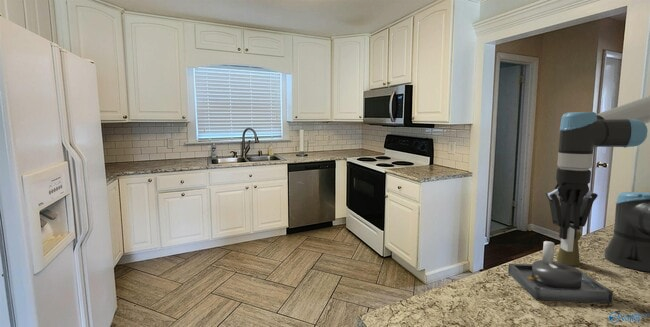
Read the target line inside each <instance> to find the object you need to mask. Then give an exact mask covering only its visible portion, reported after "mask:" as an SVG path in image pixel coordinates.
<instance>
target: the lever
mask: <svg viewBox="0 0 650 327" xmlns="http://www.w3.org/2000/svg"><path fill="white" fill-rule="evenodd" d="M542 246H543V247H542V258H541V259H542V260H535V261H533V263H532V264H533V266H532V276H533V277H534V278H535V279H536V280H537V281H539V282H541V283H543V284H546V285H549V286H552V287H556V288H571V289H578V288H580V287H581V281H582V273H581V272H580V271H581V270H580V269H579V268H577V267H575V266H574V267H575V268H574V267H572V266H570V265H567V264H563V263H560V262H558V261H554V258H555V247H556V246H555V242H553V241H548V240H545V241H543V245H542ZM576 268H577V269H576ZM578 269H579V270H580V271H579V270H578Z"/></svg>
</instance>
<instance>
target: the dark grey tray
mask: <svg viewBox="0 0 650 327" xmlns="http://www.w3.org/2000/svg"><path fill="white" fill-rule="evenodd" d="M532 266H533V263H531V264H530V263H508V268H507V271H508V273H507V274H509V275H510V276H511V277H512V278H513V279H514V280H515V281H516V282H517V283H518V284H519V285H520V286H521V287H522V288H523V289H524V290H525V291H526V292H527V293H528V294H529V295H530V296H531V297H532V298H533V299H534V300H535V301H547V302H548V301H551V302H552V301H553V302H572V303H573V302H575V303H576V302H577V303H578V302H579V303H598V304H601V303H602V304H612V303H613V295H614V294H613V291H612V290H611V289H610V288H608V287H606V286H605V285H604V284H601V283H600V282H598V281H597V280H595V279H594V278H593V277H591V276H589V275H588V274H586V273H585V272H583V271H581V270H580V269H579V268H577V267H576V266H572V265H570V266H572V267H574V268H576V269H578V270H579V271H580V272H581V273H582V281H581V287H580V288H578V289H571V288H556V287H552V286H549V285H546V284H543V283H541V282H539V281H537V280H536V279H535V278H534V277H533V276H532Z"/></svg>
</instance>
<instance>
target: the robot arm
mask: <svg viewBox="0 0 650 327" xmlns="http://www.w3.org/2000/svg"><path fill="white" fill-rule="evenodd" d="M648 123H650V95H648V96H645V97H642V98H639V99H637V100H633V101H631V102H627V103H625V104H622V105H619V106H616V107H613V108H611V109H608V110H604V111H602V112H600V113H596V112H595V111H576V112H575V111H574V112H565V113H563V115H562V116H561V120H560V126H559V138H558V139H559V140H558V152H557V166H558V167H557V169H556V175H555V179H556V185H555V187H554V189H553V190H552V191H551V192H550V191H547V192H545V196H546V198H547V200H548V202H549V208H550V214H551V215H550V216H551V219H552V220H551V221H552V223H553V224H554V225H555V226H557V227H559V232H558V233H559V234H558V236H559V239H560V245H561V246H560V245H559V249H560V248H562V249H563V250H565V251H567V252H573V243H574V239H576V234H577V231H579V230H581V227H582V228H584V227H585V226H586V224H587V221H588V218H589V215H590V213H591V210H592V207H593V204H594V202H595V201H596V199H597V198H598V195H599V194H598V193H594V192H593V191H591V190H590V186H589V184H590V183H591V179H592V178H591V176H592V171H591V170H590V169H591V168H593V157H594V148H598V147H599V148H600V147H601V148H608V147H609V148H630V147H638V146H640V145H642V144H643V143H644V142H645V141H646V139H647V136H648V127H647V125H646V124H648ZM613 228H614V229H613V235H612V237H611V239H610V240H609V243H608V244H607V246H606V247H605V248H604V258H606V259H607V260H608V261H610V262H612V263H614V264H616V265H619V266H622V267H625V268H629V269H633V270H638V271H640V272H641V271H642V272H649V273H650V192H649V191H648V192H646V191H645V192H644V191H623V192H620V193H619V194H618V195H617V198H616V202H615V213H614V227H613Z"/></svg>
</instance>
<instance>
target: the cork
mask: <svg viewBox="0 0 650 327" xmlns="http://www.w3.org/2000/svg"><path fill="white" fill-rule="evenodd" d="M581 236H582V235H581V233H580V231H579V230H577V234H576V239H574V243H573V252H567V251H565V250H563V249H562V248H560V246H561V244H560V245H559V250H558V253H557V257H556V260H557V261H556V262H560V263H563V264H567V265H572V266H574V267H577V266H580V265H581V261H580V250H579V241H580V239H581Z"/></svg>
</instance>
